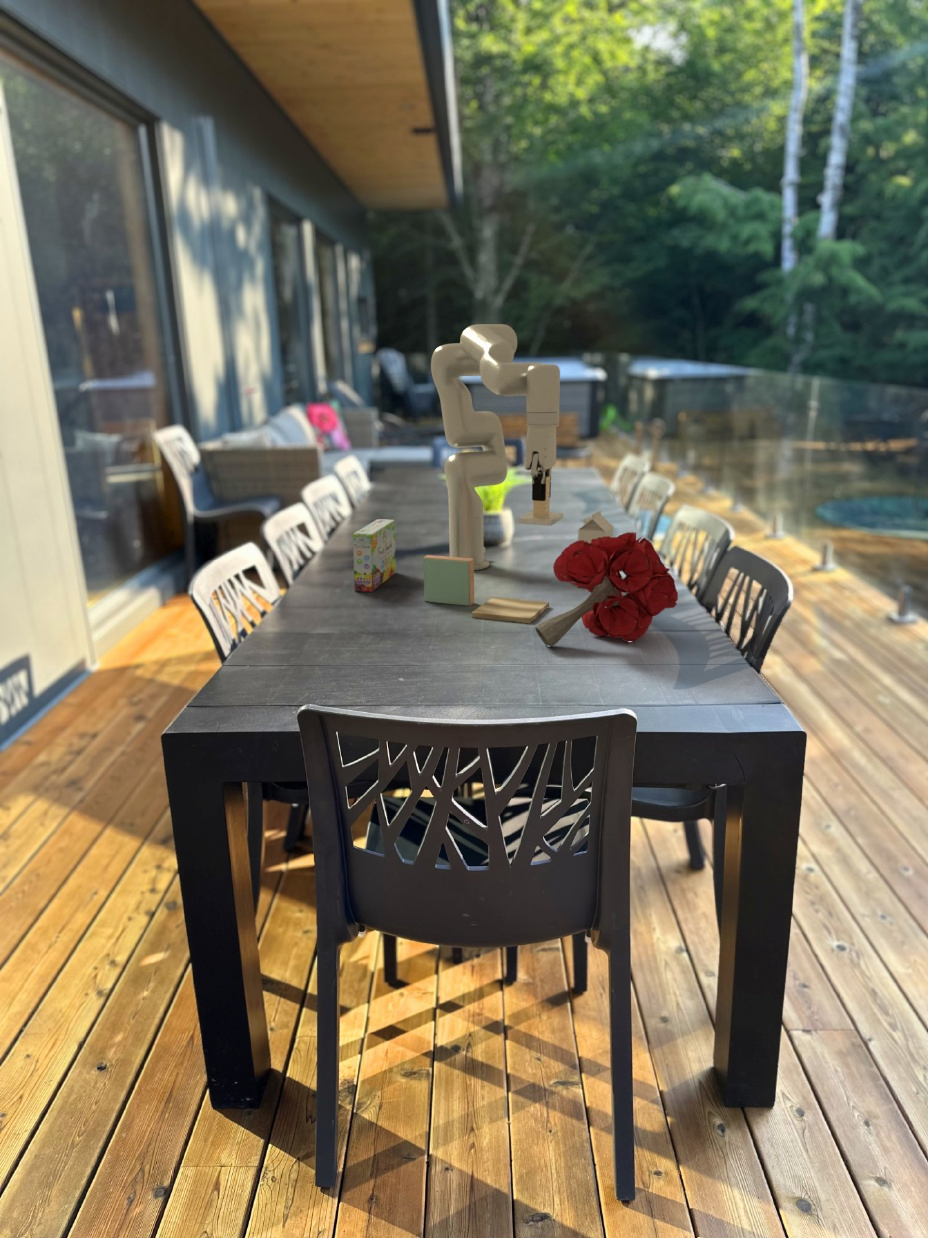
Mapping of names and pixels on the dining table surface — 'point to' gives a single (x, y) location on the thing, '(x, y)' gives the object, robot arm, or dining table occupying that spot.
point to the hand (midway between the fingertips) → (541, 498)
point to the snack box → (374, 554)
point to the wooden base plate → (510, 610)
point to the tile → (449, 580)
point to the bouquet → (612, 588)
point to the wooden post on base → (541, 511)
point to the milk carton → (595, 528)
